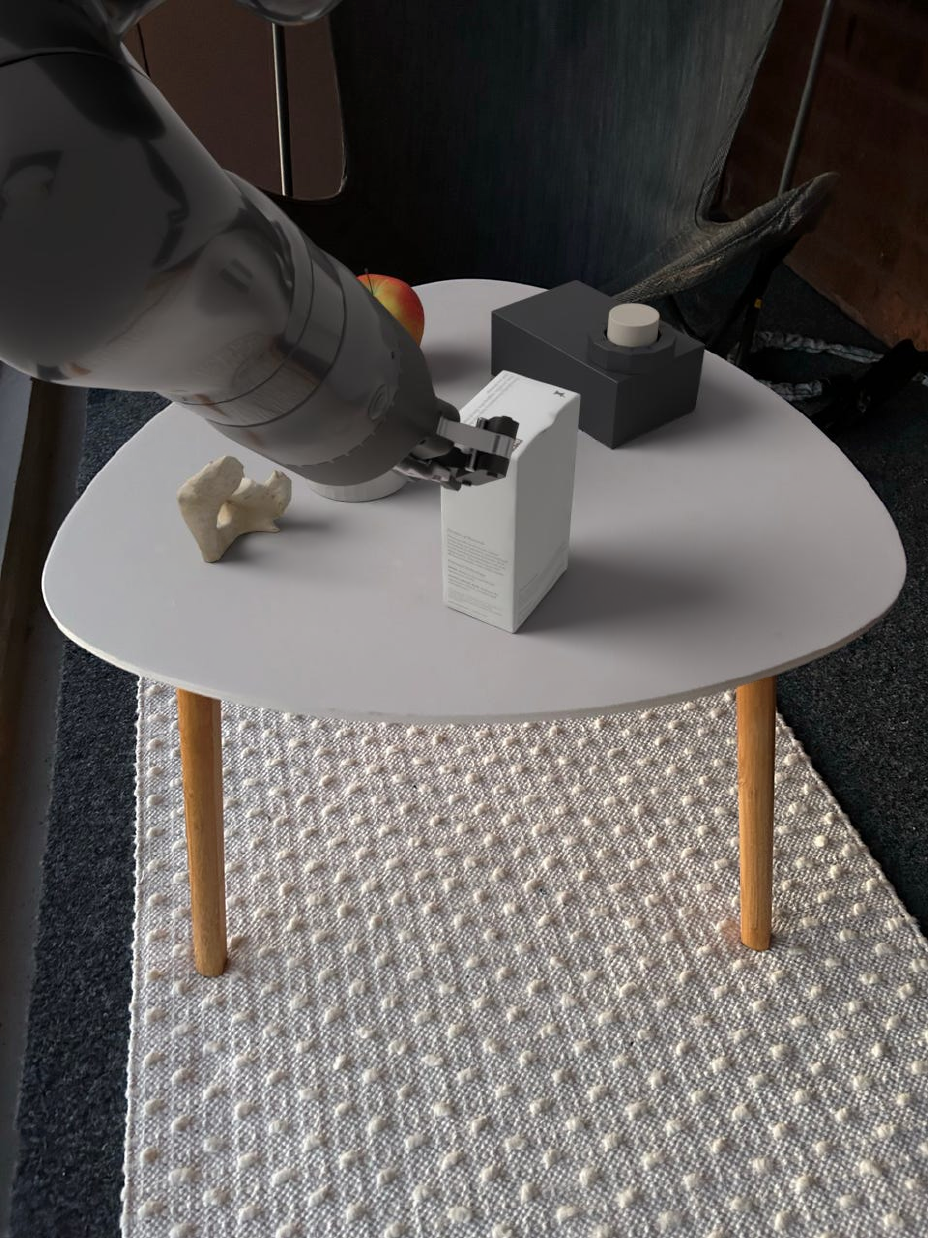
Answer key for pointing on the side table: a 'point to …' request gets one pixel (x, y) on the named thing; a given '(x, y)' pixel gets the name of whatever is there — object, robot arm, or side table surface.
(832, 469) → the side table surface
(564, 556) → the cosmetic box
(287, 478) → the bone
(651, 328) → the beige push button
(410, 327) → the apple
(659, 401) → the dark gray box
